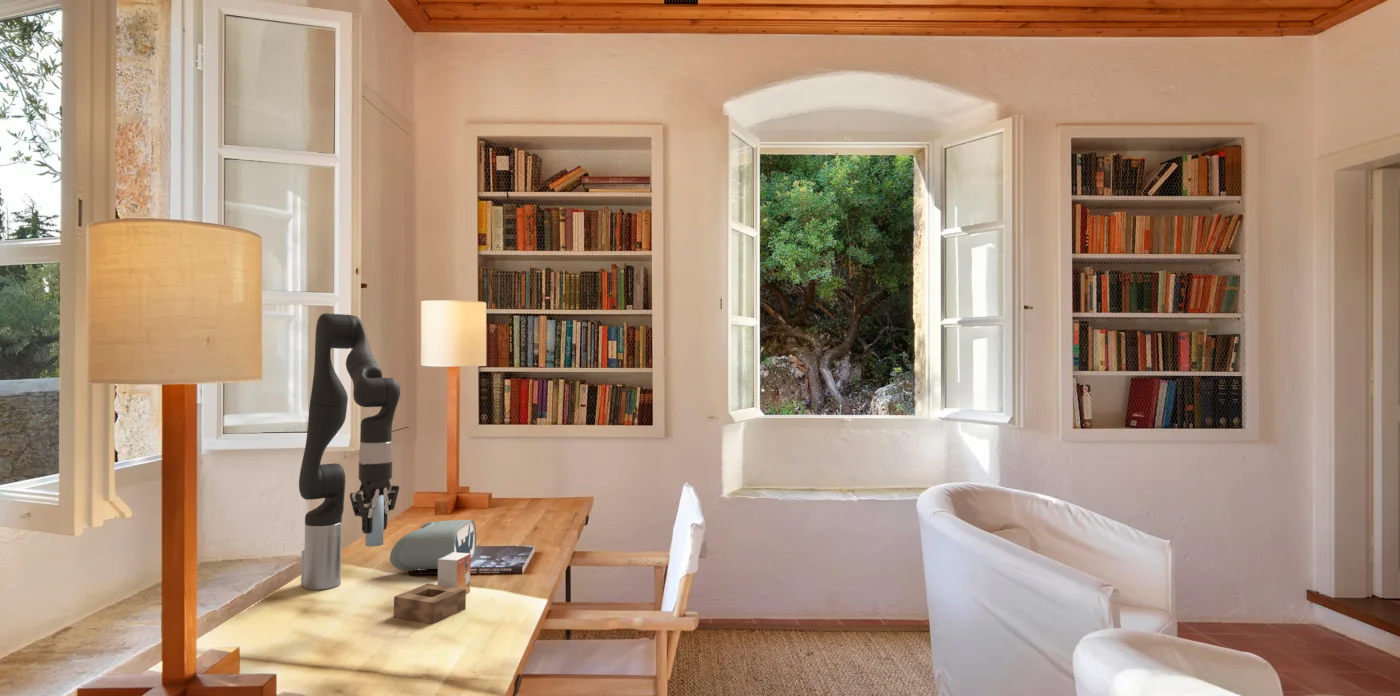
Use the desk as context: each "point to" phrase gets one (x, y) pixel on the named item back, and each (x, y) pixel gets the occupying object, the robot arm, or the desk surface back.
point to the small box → (455, 571)
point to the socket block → (429, 603)
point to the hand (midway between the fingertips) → (374, 530)
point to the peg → (376, 524)
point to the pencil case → (433, 544)
